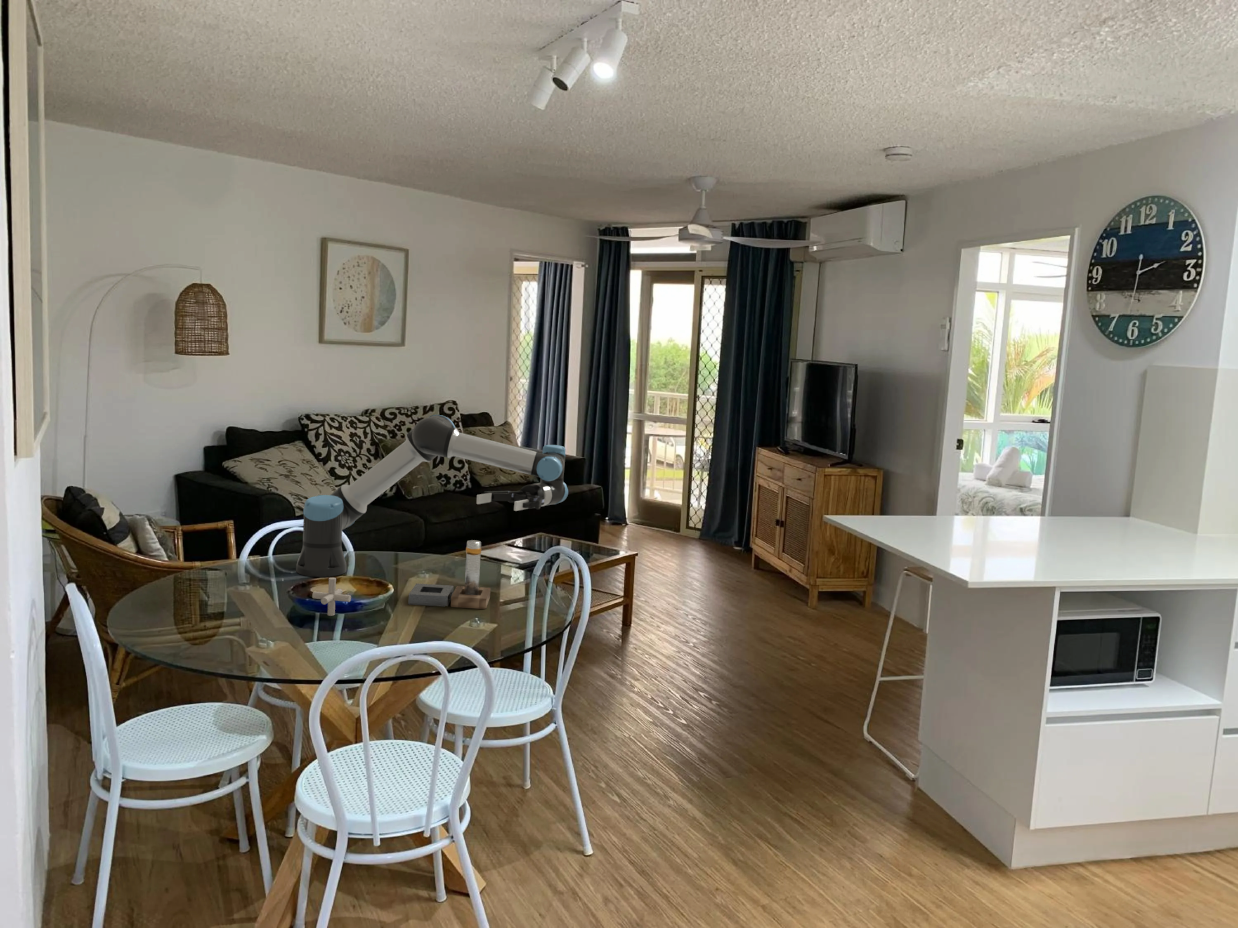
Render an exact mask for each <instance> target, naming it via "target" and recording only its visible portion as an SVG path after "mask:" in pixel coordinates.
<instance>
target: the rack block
mask: <svg viewBox="0 0 1238 928" xmlns="http://www.w3.org/2000/svg"><path fill="white" fill-rule="evenodd" d="M491 590H492V588H491V587H481V586H479V591H478V595H464V593H465V585H463V586H462V585H457V586H456V587H455V589H453V594H452V596H451V600H450V607H451V608H463V609H465V608H466V609H481V610H484V609H485V610H487V607H488V604H489V601H490V598H491Z"/></svg>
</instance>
